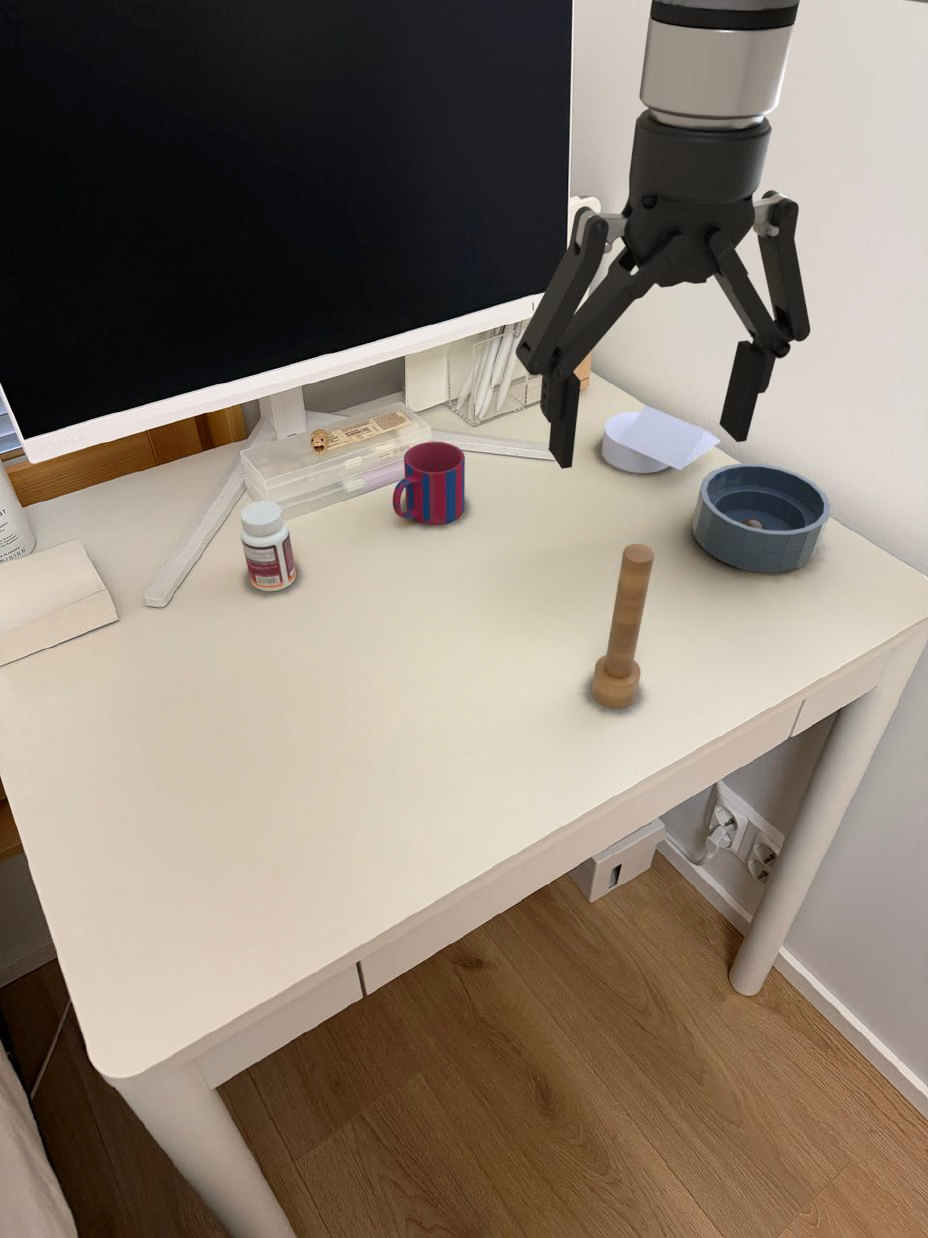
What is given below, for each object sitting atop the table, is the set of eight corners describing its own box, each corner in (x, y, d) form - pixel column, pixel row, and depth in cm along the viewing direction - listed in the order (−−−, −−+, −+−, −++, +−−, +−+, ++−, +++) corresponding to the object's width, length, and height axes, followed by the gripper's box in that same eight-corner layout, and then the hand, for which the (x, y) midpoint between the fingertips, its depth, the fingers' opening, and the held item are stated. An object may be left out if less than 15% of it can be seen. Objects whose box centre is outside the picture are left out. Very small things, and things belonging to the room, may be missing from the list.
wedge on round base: (715, 465, 106) (629, 427, 113) (726, 416, 102) (636, 380, 108) (674, 494, 101) (587, 453, 108) (684, 444, 97) (592, 405, 103)
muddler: (636, 710, 76) (666, 570, 65) (591, 706, 76) (613, 566, 66) (635, 678, 79) (663, 539, 68) (591, 674, 79) (612, 535, 69)
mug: (476, 508, 99) (477, 457, 94) (412, 545, 94) (410, 493, 89) (436, 485, 102) (435, 434, 98) (372, 519, 97) (368, 468, 93)
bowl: (840, 564, 92) (856, 522, 88) (727, 586, 89) (739, 543, 85) (774, 496, 101) (786, 455, 97) (670, 513, 98) (679, 472, 95)
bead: (770, 532, 90) (765, 551, 92) (764, 511, 92) (760, 530, 94) (741, 534, 90) (737, 553, 93) (736, 514, 92) (732, 533, 94)
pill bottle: (277, 558, 92) (265, 492, 86) (305, 577, 90) (295, 511, 84) (240, 578, 89) (226, 512, 84) (269, 599, 87) (256, 532, 81)
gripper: (859, 86, 53) (774, 399, 67) (471, 109, 48) (468, 442, 62) (939, 114, 48) (828, 447, 62) (513, 143, 43) (499, 499, 57)
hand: (648, 445), depth 62 cm, fingers open, 13 cm apart
